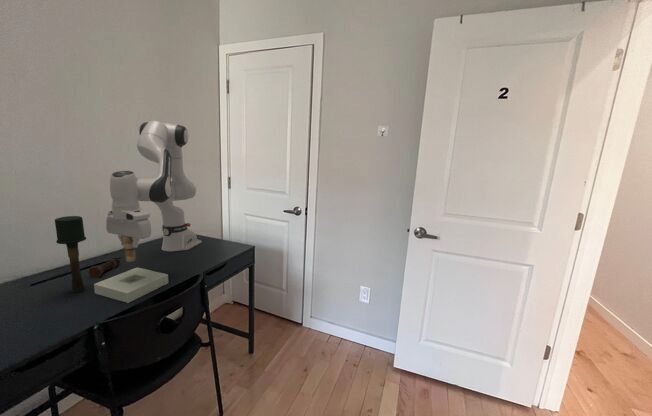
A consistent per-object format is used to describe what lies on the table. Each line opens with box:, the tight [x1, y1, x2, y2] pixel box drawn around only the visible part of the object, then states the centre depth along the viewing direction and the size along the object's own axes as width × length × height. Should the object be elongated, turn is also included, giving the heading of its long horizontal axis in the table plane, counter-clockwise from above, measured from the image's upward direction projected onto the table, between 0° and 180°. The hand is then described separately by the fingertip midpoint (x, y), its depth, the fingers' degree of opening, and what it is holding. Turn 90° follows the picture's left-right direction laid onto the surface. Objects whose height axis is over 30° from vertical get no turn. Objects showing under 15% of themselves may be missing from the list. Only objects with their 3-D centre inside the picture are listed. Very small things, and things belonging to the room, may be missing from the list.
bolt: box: [87, 257, 121, 279], centre depth 130 cm, size 6×5×15 cm
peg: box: [122, 235, 137, 263], centre depth 113 cm, size 4×4×11 cm
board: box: [93, 267, 169, 304], centre depth 116 cm, size 18×18×4 cm
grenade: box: [54, 215, 87, 293], centre depth 109 cm, size 8×9×30 cm
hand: (129, 246), depth 112 cm, fingers closed on peg, 4 cm apart
